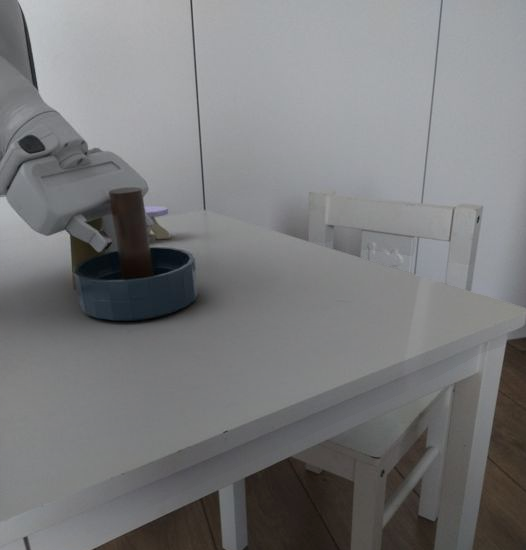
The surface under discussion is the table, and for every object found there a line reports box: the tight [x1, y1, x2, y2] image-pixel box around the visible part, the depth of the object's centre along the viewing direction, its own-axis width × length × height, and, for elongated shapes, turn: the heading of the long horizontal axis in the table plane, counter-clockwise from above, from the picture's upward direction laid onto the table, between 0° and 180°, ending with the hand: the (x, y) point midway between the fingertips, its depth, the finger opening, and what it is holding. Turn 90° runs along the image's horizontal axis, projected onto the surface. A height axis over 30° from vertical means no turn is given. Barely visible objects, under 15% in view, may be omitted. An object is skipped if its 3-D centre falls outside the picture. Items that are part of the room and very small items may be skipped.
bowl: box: [73, 246, 199, 322], centre depth 75 cm, size 15×15×6 cm
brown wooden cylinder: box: [109, 187, 154, 280], centre depth 73 cm, size 4×4×14 cm
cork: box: [65, 218, 106, 291], centre depth 81 cm, size 6×6×11 cm
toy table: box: [144, 205, 171, 240], centre depth 106 cm, size 10×9×6 cm
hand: (128, 237), depth 72 cm, fingers open, 8 cm apart
